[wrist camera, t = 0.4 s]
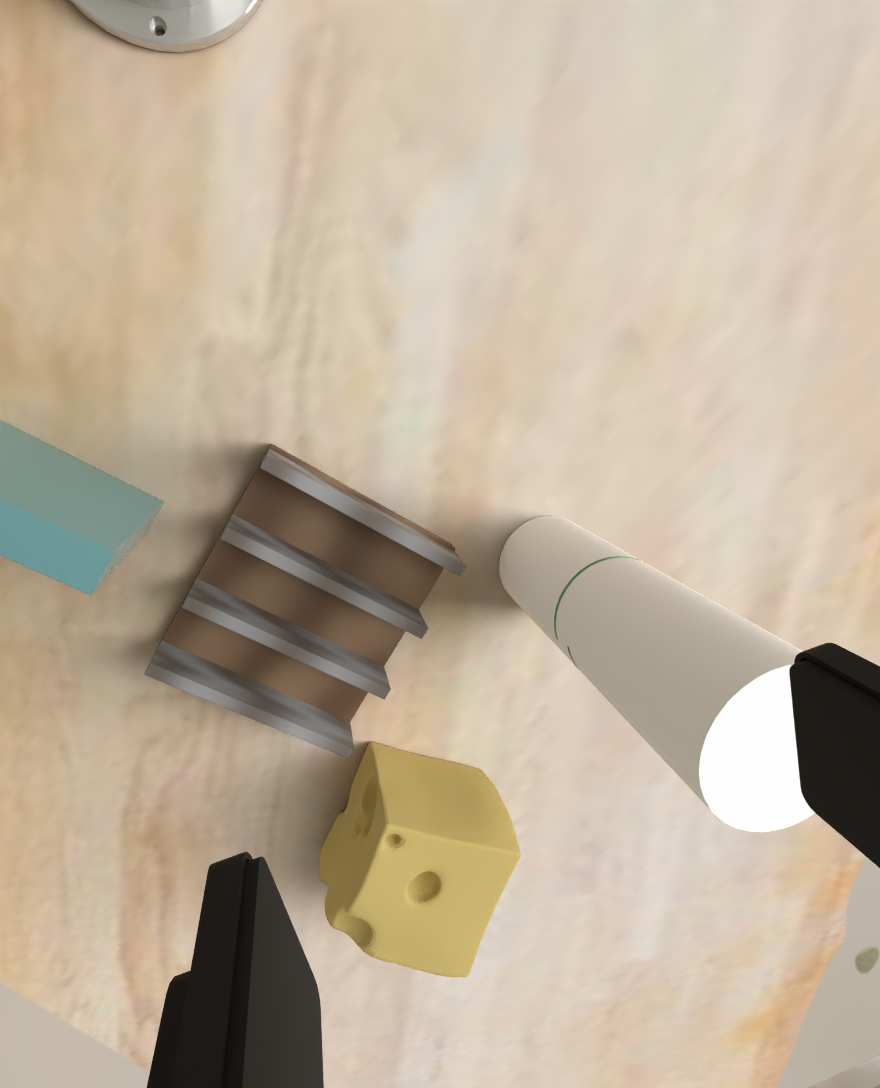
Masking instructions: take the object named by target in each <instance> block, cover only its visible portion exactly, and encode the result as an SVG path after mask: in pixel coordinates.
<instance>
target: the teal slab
mask: <svg viewBox="0 0 880 1088" xmlns="http://www.w3.org/2000/svg"><path fill="white" fill-rule="evenodd" d="M162 504H163V501H161V500H159V499H157V498H155V497H153V496H151V495H150V494H148V493H146V492H144V491H142V490H140V489H138V488H136V487H134V486H132V485H130V484H128V483H126V482H124V481H122V480H120V479H118V478H116V477H114V476H112V475H110V474H108V473H106V472H104V471H102V470H100V469H98V468H96V467H94V466H92V465H90V464H88V463H86V462H84V461H82V460H80V459H78V458H76V457H74V456H72V455H70V454H68V453H66V452H64V451H62V450H60V449H58V448H56V447H54V446H52V445H50V444H48V443H46V442H44V441H42V440H40V439H38V438H36V437H34V436H32V435H30V434H28V433H26V432H24V431H22V430H20V429H18V428H16V427H14V426H12V425H10V424H8V423H6V422H4V421H2V420H0V555H1V556H3V557H5V558H7V559H10V560H12V561H14V562H16V563H19V564H21V565H23V566H26V567H28V568H30V569H32V570H35V571H37V572H39V573H41V574H44V575H46V576H48V577H51V578H53V579H55V580H57V581H60V582H62V583H64V584H66V585H69V586H71V587H73V588H75V589H78V590H80V591H82V592H85V593H87V594H89V595H92V594H93V592H94V591H95V590H96V589H97V588H98V587H99V586H100V585H101V584H102V582H103V581H104V580H105V579H106V578H107V577H108V576H109V575H110V574H111V572H112V571H113V570H114V569H115V568H116V567H117V566H118V565H119V564H120V562H121V561H122V560H123V559H124V558H125V557H126V556H127V555H128V554H129V552H130V551H131V550H132V549H133V548H134V547H135V546H136V545H137V544H138V542H139V541H140V540H141V539H142V538H143V537H144V536H145V535H146V533H147V532H148V530H149V528H150V526H151V524H152V522H153V521H154V519H155V517H156V515H157V513H158V511H159V509H160V508H161V506H162Z"/></svg>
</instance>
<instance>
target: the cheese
mask: <svg viewBox="0 0 880 1088" xmlns="http://www.w3.org/2000/svg"><path fill="white" fill-rule="evenodd" d="M520 857H521V853H520V850H519V846H518V842H517V838H516V834H515V831H514V827H513V824H512V821H511V819H510V816H509V814H508V812H507V809H506V807H505V805H504V803H503V801H502V799H501V797H500V795H499V793H498V791H497V790H496V788H495V786H494V785H493V783H492V782H491V781H490V779H489V778H488V777H487V776H486V775H485V773H484V772H483V771H482V770H480V769H477V768H473V767H470V766H466V765H462V764H458V763H454V762H450V761H445V760H440V759H436V758H431V757H426V756H422V755H417V754H414V753H410V752H406V751H402V750H399V749H395V748H392V747H388V746H385V745H381V744H378V743H375V742H370V743H369V744H368V746H367V748H366V751H365V753H364V755H363V758H362V760H361V763H360V765H359V767H358V770H357V772H356V775H355V777H354V780H353V783H352V786H351V790H350V795H349V800H348V804H347V807H346V809H345V811H342V812H340V813H339V814H338V816H337V818H336V820H335V822H334V824H333V826H332V828H331V830H330V832H329V834H328V835H327V837H326V839H325V841H324V843H323V845H322V847H321V850H320V855H319V875H320V879H321V881H323V882H324V883H325V884H327V885H328V886H329V889H328V893H327V896H326V898H325V912H326V917H327V920H328V922H329V923H330V925H331V926H332V927H333V928H335V929H337V930H340V931H342V932H344V933H346V934H347V935H349V936H350V937H351V938H352V939H353V940H354V941H355V943H356V944H357V945H358V946H359V947H360V948H361V949H362V950H363V951H364V952H365V953H367V954H368V955H370V956H371V957H374V958H376V959H379V960H382V961H386V962H391V963H395V964H399V965H403V966H406V967H410V968H413V969H417V970H420V971H424V972H428V973H432V974H436V975H441V976H447V977H467V976H468V975H469V972H470V970H471V967H472V964H473V962H474V959H475V956H476V953H477V950H478V947H479V944H480V941H481V939H482V936H483V934H484V931H485V929H486V927H487V925H488V922H489V920H490V918H491V916H492V914H493V912H494V909H495V907H496V905H497V903H498V901H499V899H500V896H501V894H502V892H503V890H504V888H505V886H506V884H507V882H508V880H509V878H510V876H511V874H512V872H513V870H514V868H515V866H516V864H517V862H518V860H519V859H520Z"/></svg>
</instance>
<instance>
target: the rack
mask: <svg viewBox="0 0 880 1088" xmlns="http://www.w3.org/2000/svg"><path fill="white" fill-rule="evenodd" d="M454 551H455V548H454V547H453V546H452V544H450V543H448V542H446V541H444V540H443V539H441V538H439V537H437V536H436V535H434V534H432V533H430V532H428V531H427V530H425V529H423V528H421V527H419V526H418V525H416V524H414V523H412V522H410V521H409V520H407V519H405V518H403V517H402V516H400V515H398V514H396V513H394V512H393V511H391V510H389V509H387V508H385V507H384V506H382V505H380V504H378V503H377V502H375V501H373V500H371V499H369V498H368V497H366V496H364V495H362V494H360V493H359V492H357V491H355V490H353V489H351V488H350V487H348V486H346V485H344V484H343V483H341V482H339V481H337V480H335V479H334V478H332V477H330V476H328V475H326V474H325V473H323V472H321V471H319V470H317V469H316V468H314V467H312V466H310V465H309V464H307V463H305V462H303V461H301V460H300V459H298V458H296V457H294V456H292V455H291V454H289V453H287V452H285V451H284V450H282V449H280V448H278V447H276V446H275V445H273V444H271V445H270V447H269V449H268V451H267V453H266V454H265V456H264V458H263V460H262V462H261V463H260V465H259V467H258V469H257V470H256V472H255V474H254V476H253V478H252V479H251V481H250V483H249V485H248V487H247V488H246V490H245V492H244V494H243V495H242V497H241V499H240V501H239V503H238V504H237V506H236V508H235V510H234V512H233V513H232V515H231V517H230V519H229V521H228V522H227V524H226V526H225V528H224V529H223V531H222V533H221V535H220V537H219V538H218V540H217V542H216V544H215V546H214V547H213V549H212V551H211V553H210V554H209V556H208V558H207V560H206V562H205V563H204V565H203V567H202V569H201V571H200V572H199V574H198V576H197V578H196V579H195V581H194V583H193V585H192V587H191V588H190V590H189V592H188V594H187V596H186V597H185V599H184V601H183V603H182V604H181V606H180V608H179V610H178V612H177V613H176V615H175V617H174V619H173V621H172V622H171V624H170V626H169V628H168V630H167V631H166V633H165V635H164V637H163V638H162V640H161V642H160V644H159V646H158V648H157V650H156V652H155V654H154V656H153V658H152V660H151V662H150V664H149V666H148V668H147V670H146V672H145V675H147V676H150V677H152V678H154V679H157V680H159V681H162V682H164V683H166V684H169V685H171V686H174V687H176V688H179V689H181V690H183V691H186V692H188V693H191V694H193V695H195V696H198V697H200V698H203V699H205V700H208V701H210V702H212V703H215V704H217V705H220V706H222V707H225V708H227V709H229V710H232V711H234V712H237V713H239V714H241V715H244V716H246V717H249V718H251V719H254V720H256V721H258V722H261V723H263V724H266V725H268V726H271V727H273V728H275V729H278V730H280V731H283V732H285V733H287V734H290V735H292V736H295V737H297V738H300V739H302V740H304V741H307V742H309V743H312V744H314V745H317V746H319V747H321V748H324V749H326V750H329V751H331V752H333V753H336V754H338V755H341V756H343V757H346V758H349V756H350V755H351V753H352V751H353V750H354V745H353V738H352V732H351V725H350V721H351V719H352V718H353V716H354V715H355V713H356V711H357V710H358V708H359V706H360V705H361V703H362V701H363V700H364V698H365V697H366V695H367V693H368V692H369V693H371V694H374V695H376V696H378V697H380V698H382V699H385V698H386V696H387V694H388V693H389V691H390V690H391V689H390V686H389V682H388V679H387V675H386V672H385V669H384V665H385V664H386V662H387V660H388V659H389V657H390V656H391V654H392V652H393V651H394V649H395V647H396V646H397V644H398V642H399V641H400V639H401V638H402V636H403V634H404V633H405V631H407V632H409V633H411V634H413V635H415V636H417V637H419V638H421V639H422V638H423V636H424V634H425V633H426V631H427V629H428V627H427V625H426V623H425V621H424V619H423V617H422V616H421V614H420V612H419V608H420V606H421V605H422V603H423V601H424V600H425V598H426V597H427V595H428V593H429V592H430V590H431V588H432V587H433V585H434V583H435V582H436V580H437V579H438V577H439V575H440V574H441V572H442V570H443V569H444V568H445V569H447V570H449V571H451V572H453V573H455V574H456V575H458V576H461V574H462V572H463V571H464V569H465V568H466V565H465V564H464V562H463V561H462V560H461V559H460V558H459V557H458V555H457V554H456V553H455V552H454Z"/></svg>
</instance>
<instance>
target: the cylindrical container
mask: <svg viewBox="0 0 880 1088" xmlns="http://www.w3.org/2000/svg"><path fill="white" fill-rule="evenodd" d="M499 573H500V578H501V582H502V584H503V587H504V588H505V590H506V591H507V593H508V594H509V595H510V596H511V597H512V599H513V600H514V601H515V602H516V603H517V604H518V605H519V606H520V607H521V608H522V609H523V610H524V611H525V612H526V613H527V615H528V616H529V617H530V618H531V619H532V620H533V621H534V622H535V623H536V624H537V625H538V626H539V627H540V628H541V629H542V631H543V632H544V633H545V634H546V635H547V636H548V637H549V638H550V639H551V640H552V641H553V642H554V643H555V644H556V645H557V647H558V648H559V649H560V650H561V651H562V652H563V653H564V654H565V655H566V656H567V657H568V658H569V659H570V660H571V661H572V663H573V664H574V665H575V666H576V667H577V668H578V669H579V670H580V671H581V672H582V673H583V674H584V675H585V676H586V677H587V679H588V680H589V681H590V682H591V683H592V684H593V685H594V686H595V687H596V688H597V689H598V690H599V691H600V692H601V693H602V695H603V696H604V697H605V698H606V699H607V700H608V701H609V702H610V703H611V704H612V705H613V706H614V707H615V708H616V709H617V711H618V712H619V713H620V714H621V715H622V716H623V717H624V718H625V719H626V720H627V721H628V722H629V723H630V724H631V725H632V727H633V728H634V729H635V730H636V731H637V732H638V733H639V734H640V735H641V736H642V737H643V738H644V739H645V740H646V741H647V743H648V744H649V745H650V746H651V747H652V748H653V749H654V750H655V751H656V752H657V753H658V754H659V755H660V756H661V757H662V759H663V760H664V761H665V762H666V763H667V764H668V765H669V766H670V767H671V768H672V769H673V770H674V771H675V772H676V774H677V775H678V776H679V777H680V778H681V779H682V780H683V781H684V782H685V783H686V784H687V785H688V786H689V787H690V788H691V790H692V791H693V792H694V793H695V794H696V795H697V796H698V797H699V798H700V799H701V800H702V801H703V802H704V803H705V804H706V806H707V807H708V808H709V809H710V810H711V811H712V812H713V813H714V814H715V815H716V816H717V817H718V818H719V819H720V820H721V821H723V822H725V823H727V824H728V825H730V826H732V827H734V828H737V829H741V830H745V831H748V832H768V831H774V830H780V829H783V828H786V827H789V826H792V825H795V824H797V823H799V822H801V821H803V820H805V819H806V818H808V817H810V816H812V815H813V814H814V813H815V812H814V811H813V810H812V809H811V808H810V807H809V805H808V804H807V803H806V801H805V799H804V797H803V795H802V792H801V788H800V778H799V767H798V757H797V747H796V737H795V727H794V717H793V706H792V696H791V686H790V676H789V669H790V667H791V666H792V665H793V664H794V660H795V657H796V655H797V654H799V653H800V652H803V651H802V650H800V649H798V648H796V647H795V646H793V645H791V644H789V643H787V642H786V641H784V640H782V639H780V638H778V637H777V636H775V635H773V634H771V633H769V632H768V631H766V630H764V629H762V628H761V627H759V626H757V625H755V624H753V623H752V622H750V621H748V620H746V619H744V618H743V617H741V616H739V615H737V614H735V613H734V612H732V611H730V610H728V609H727V608H725V607H723V606H721V605H719V604H718V603H716V602H714V601H712V600H710V599H709V598H707V597H705V596H703V595H701V594H700V593H698V592H696V591H694V590H692V589H691V588H689V587H687V586H685V585H684V584H682V583H680V582H678V581H676V580H675V579H673V578H671V577H669V576H667V575H666V574H664V573H662V572H660V571H659V570H657V569H655V568H653V567H651V566H650V565H648V564H646V563H644V562H642V561H641V560H639V559H637V558H635V557H634V556H632V555H630V554H628V553H626V552H625V551H623V550H621V549H619V548H618V547H616V546H614V545H612V544H610V543H609V542H607V541H605V540H603V539H602V538H600V537H598V536H596V535H594V534H593V533H591V532H589V531H587V530H586V529H584V528H582V527H580V526H578V525H577V524H575V523H573V522H571V521H569V520H567V519H565V518H562V517H557V516H541V517H538V518H534V519H532V520H529V521H527V522H525V523H524V524H522V525H521V526H519V527H518V528H517V529H516V530H515V531H514V532H513V533H512V534H511V535H510V537H509V538H508V540H507V541H506V543H505V545H504V547H503V549H502V552H501V556H500V561H499Z"/></svg>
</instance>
